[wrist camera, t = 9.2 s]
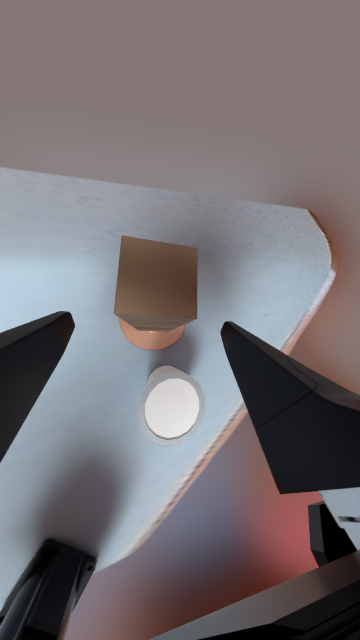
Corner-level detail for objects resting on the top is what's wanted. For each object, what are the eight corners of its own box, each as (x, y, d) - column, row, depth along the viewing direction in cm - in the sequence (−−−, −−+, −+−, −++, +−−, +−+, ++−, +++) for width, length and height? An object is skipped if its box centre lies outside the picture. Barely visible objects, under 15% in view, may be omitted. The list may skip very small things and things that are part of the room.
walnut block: (168, 331, 20) (196, 318, 8) (137, 330, 19) (113, 313, 7) (169, 303, 21) (197, 248, 8) (139, 300, 20) (121, 235, 8)
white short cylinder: (191, 402, 20) (212, 432, 14) (145, 416, 19) (143, 459, 12) (183, 356, 21) (198, 364, 14) (138, 367, 20) (132, 381, 13)
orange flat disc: (163, 362, 20) (164, 363, 20) (105, 326, 19) (103, 326, 19) (195, 309, 23) (197, 308, 22) (145, 275, 22) (145, 272, 21)
